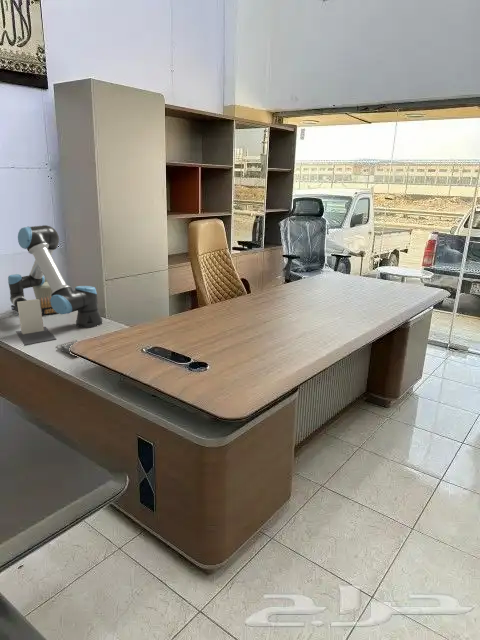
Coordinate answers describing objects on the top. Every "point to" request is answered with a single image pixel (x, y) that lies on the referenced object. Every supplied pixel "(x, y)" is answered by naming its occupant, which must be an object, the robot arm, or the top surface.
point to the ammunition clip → (47, 307)
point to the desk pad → (36, 337)
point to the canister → (43, 291)
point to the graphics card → (65, 347)
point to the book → (30, 316)
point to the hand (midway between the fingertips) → (28, 312)
